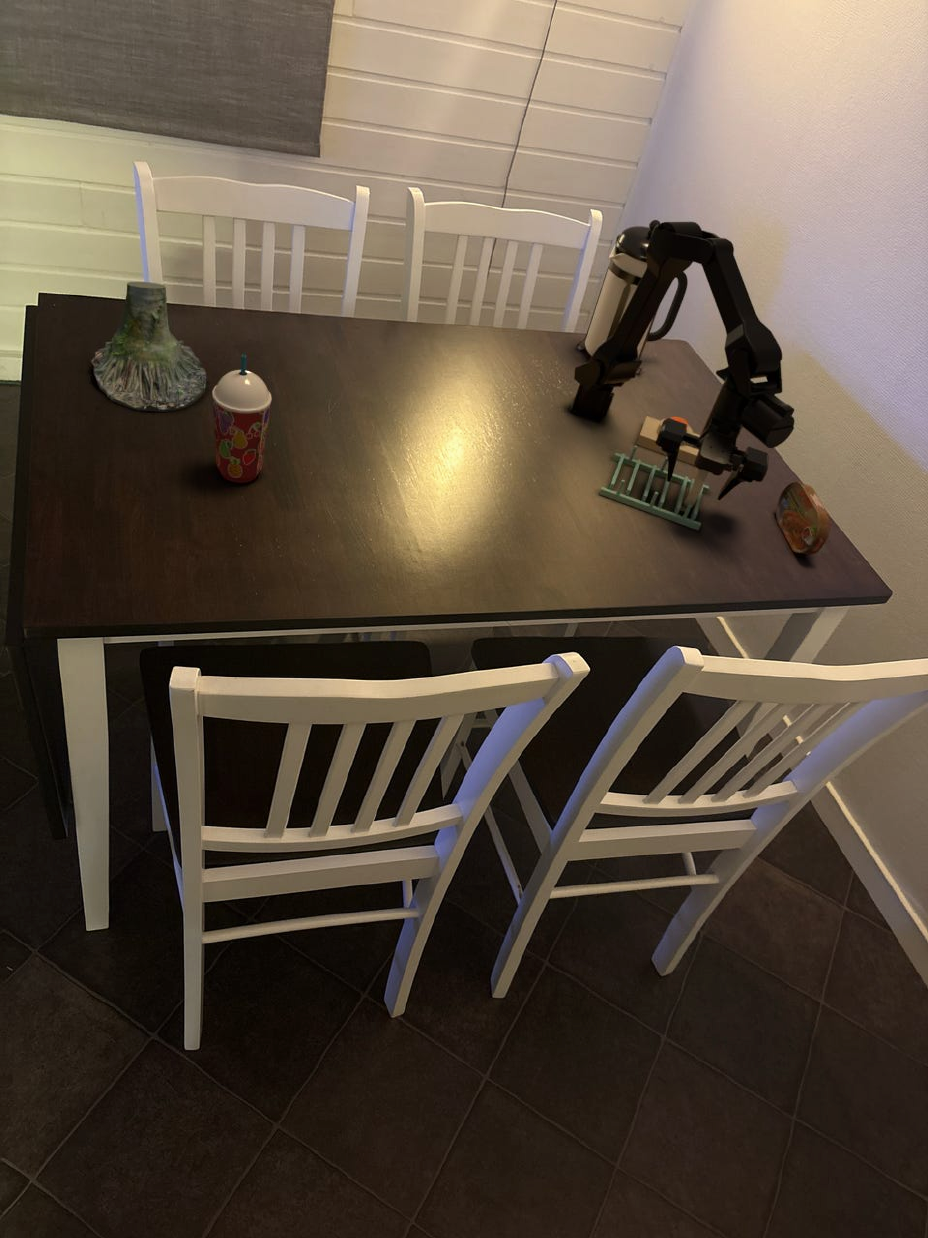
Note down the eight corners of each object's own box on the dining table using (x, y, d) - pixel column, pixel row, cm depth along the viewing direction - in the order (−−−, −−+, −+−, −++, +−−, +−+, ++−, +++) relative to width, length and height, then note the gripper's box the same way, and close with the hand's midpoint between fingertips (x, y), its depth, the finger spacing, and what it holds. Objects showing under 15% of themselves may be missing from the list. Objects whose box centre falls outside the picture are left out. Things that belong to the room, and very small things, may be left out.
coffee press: (630, 388, 186) (684, 245, 165) (563, 357, 189) (608, 214, 169) (659, 361, 198) (712, 225, 177) (595, 332, 201) (640, 196, 181)
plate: (678, 516, 155) (699, 471, 149) (685, 490, 162) (705, 446, 155) (687, 519, 155) (708, 475, 149) (693, 493, 162) (714, 449, 155)
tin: (770, 509, 163) (791, 471, 158) (786, 511, 164) (808, 473, 158) (797, 563, 153) (821, 525, 147) (814, 565, 153) (838, 527, 148)
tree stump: (89, 412, 142) (74, 295, 133) (98, 375, 159) (86, 269, 150) (208, 413, 147) (202, 300, 138) (206, 377, 164) (200, 274, 155)
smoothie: (276, 469, 141) (284, 354, 128) (249, 495, 135) (255, 378, 122) (229, 450, 142) (232, 334, 129) (200, 475, 136) (201, 357, 123)
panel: (635, 444, 170) (643, 426, 167) (642, 425, 176) (650, 407, 173) (696, 466, 169) (704, 448, 166) (701, 446, 175) (709, 428, 172)
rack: (599, 494, 155) (606, 475, 152) (613, 457, 165) (620, 439, 162) (698, 530, 153) (707, 512, 151) (706, 491, 163) (715, 473, 160)
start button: (665, 430, 169) (668, 422, 167) (668, 421, 171) (671, 414, 170) (683, 437, 168) (687, 429, 167) (686, 428, 171) (689, 420, 170)
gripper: (668, 415, 141) (635, 494, 151) (782, 456, 139) (740, 533, 150) (677, 385, 149) (645, 462, 159) (785, 423, 147) (746, 499, 158)
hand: (693, 489), depth 156 cm, fingers open, 9 cm apart
